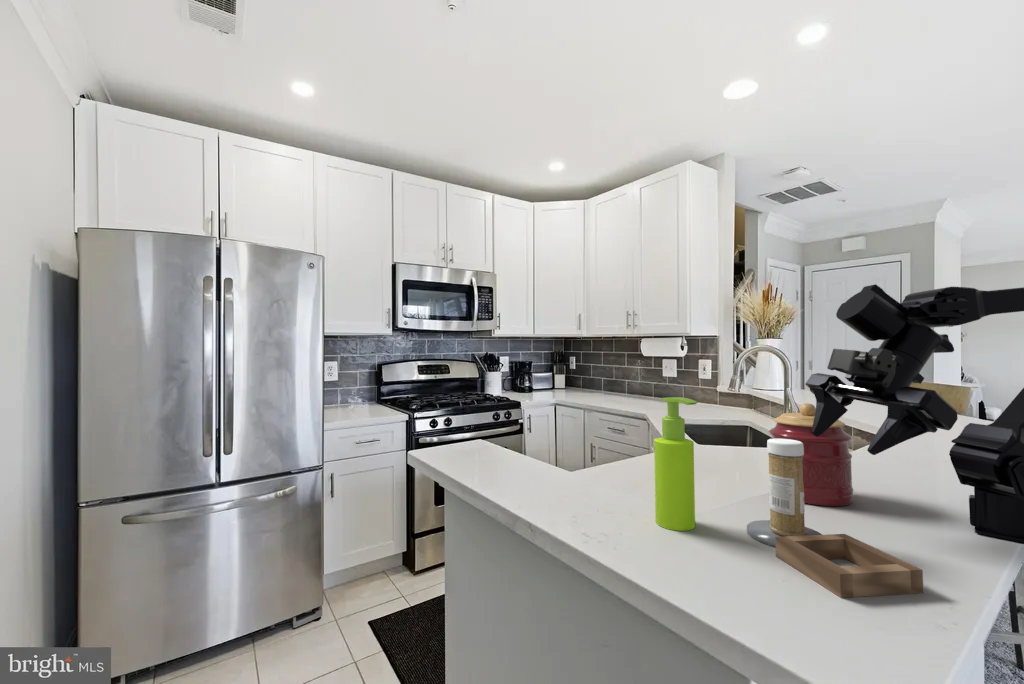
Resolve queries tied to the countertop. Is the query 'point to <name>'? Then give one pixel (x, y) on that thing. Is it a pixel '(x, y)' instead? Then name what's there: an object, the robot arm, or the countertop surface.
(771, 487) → the sprinkles bottle
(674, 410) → the soap dispenser
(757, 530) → the slate coaster
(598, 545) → the countertop surface
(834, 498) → the canister
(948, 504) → the countertop surface
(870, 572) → the walnut pocket block
